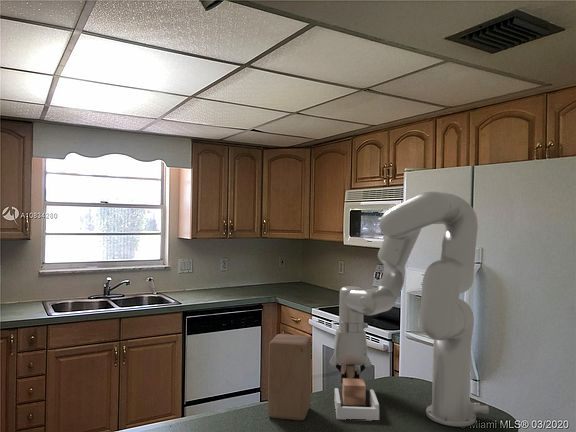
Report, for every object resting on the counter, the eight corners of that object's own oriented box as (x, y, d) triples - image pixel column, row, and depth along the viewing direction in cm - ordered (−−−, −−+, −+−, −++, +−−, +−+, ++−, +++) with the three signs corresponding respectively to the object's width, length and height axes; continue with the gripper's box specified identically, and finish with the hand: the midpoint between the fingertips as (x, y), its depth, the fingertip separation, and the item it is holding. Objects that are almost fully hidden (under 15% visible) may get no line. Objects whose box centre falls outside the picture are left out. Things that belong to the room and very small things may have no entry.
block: (359, 386, 148) (359, 363, 148) (365, 405, 133) (365, 380, 133) (340, 385, 148) (340, 363, 148) (343, 404, 133) (344, 380, 133)
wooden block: (304, 422, 121) (306, 344, 121) (266, 418, 123) (268, 341, 123) (310, 407, 131) (311, 335, 131) (275, 403, 133) (276, 332, 133)
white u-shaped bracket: (373, 403, 134) (373, 389, 134) (379, 420, 123) (379, 405, 123) (334, 402, 135) (334, 388, 135) (336, 419, 123) (336, 403, 123)
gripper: (375, 324, 150) (374, 382, 150) (324, 323, 151) (323, 381, 151) (379, 330, 143) (378, 391, 143) (325, 328, 144) (324, 389, 143)
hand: (350, 385), depth 147 cm, fingers closed on block, 2 cm apart
